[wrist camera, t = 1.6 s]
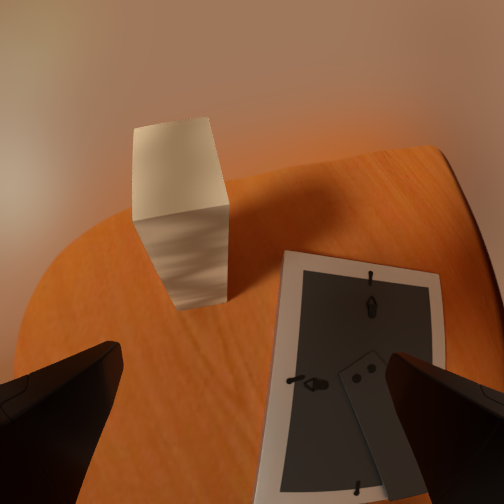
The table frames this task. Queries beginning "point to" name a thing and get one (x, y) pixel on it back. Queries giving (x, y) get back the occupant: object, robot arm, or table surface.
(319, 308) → the picture frame
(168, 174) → the pale beige block
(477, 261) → the table surface
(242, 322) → the table surface
